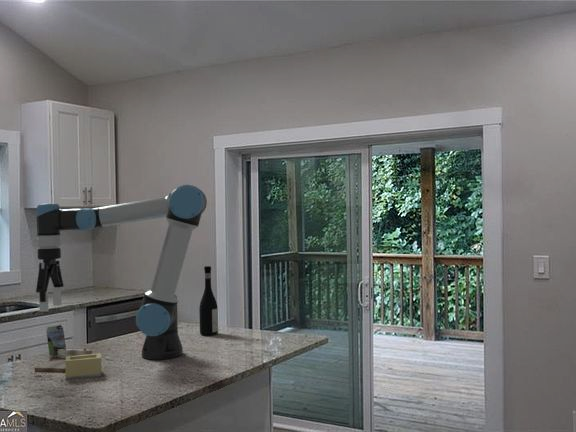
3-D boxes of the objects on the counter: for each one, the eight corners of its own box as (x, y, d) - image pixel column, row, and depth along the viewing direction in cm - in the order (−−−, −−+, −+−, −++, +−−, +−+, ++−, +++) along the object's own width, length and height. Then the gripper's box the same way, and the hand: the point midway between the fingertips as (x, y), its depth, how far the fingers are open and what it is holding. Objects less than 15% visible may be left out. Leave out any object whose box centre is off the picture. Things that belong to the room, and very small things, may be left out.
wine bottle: (218, 332, 263) (217, 265, 263) (217, 335, 255) (215, 266, 255) (200, 332, 263) (199, 265, 263) (198, 336, 255) (197, 267, 255)
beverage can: (60, 358, 218) (59, 326, 218) (42, 358, 220) (42, 326, 220) (70, 354, 225) (69, 323, 225) (52, 354, 226) (52, 323, 226)
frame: (100, 371, 199) (100, 353, 199) (101, 376, 193) (101, 357, 193) (66, 374, 195) (65, 356, 196) (65, 379, 189) (65, 361, 189)
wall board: (92, 361, 213) (92, 348, 213) (69, 372, 198) (69, 358, 198) (59, 360, 215) (59, 348, 215) (34, 371, 201) (34, 357, 201)
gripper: (50, 246, 218) (52, 303, 218) (24, 250, 193) (26, 314, 193) (70, 245, 218) (72, 302, 218) (47, 249, 193) (49, 313, 193)
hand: (50, 308), depth 206 cm, fingers open, 13 cm apart
